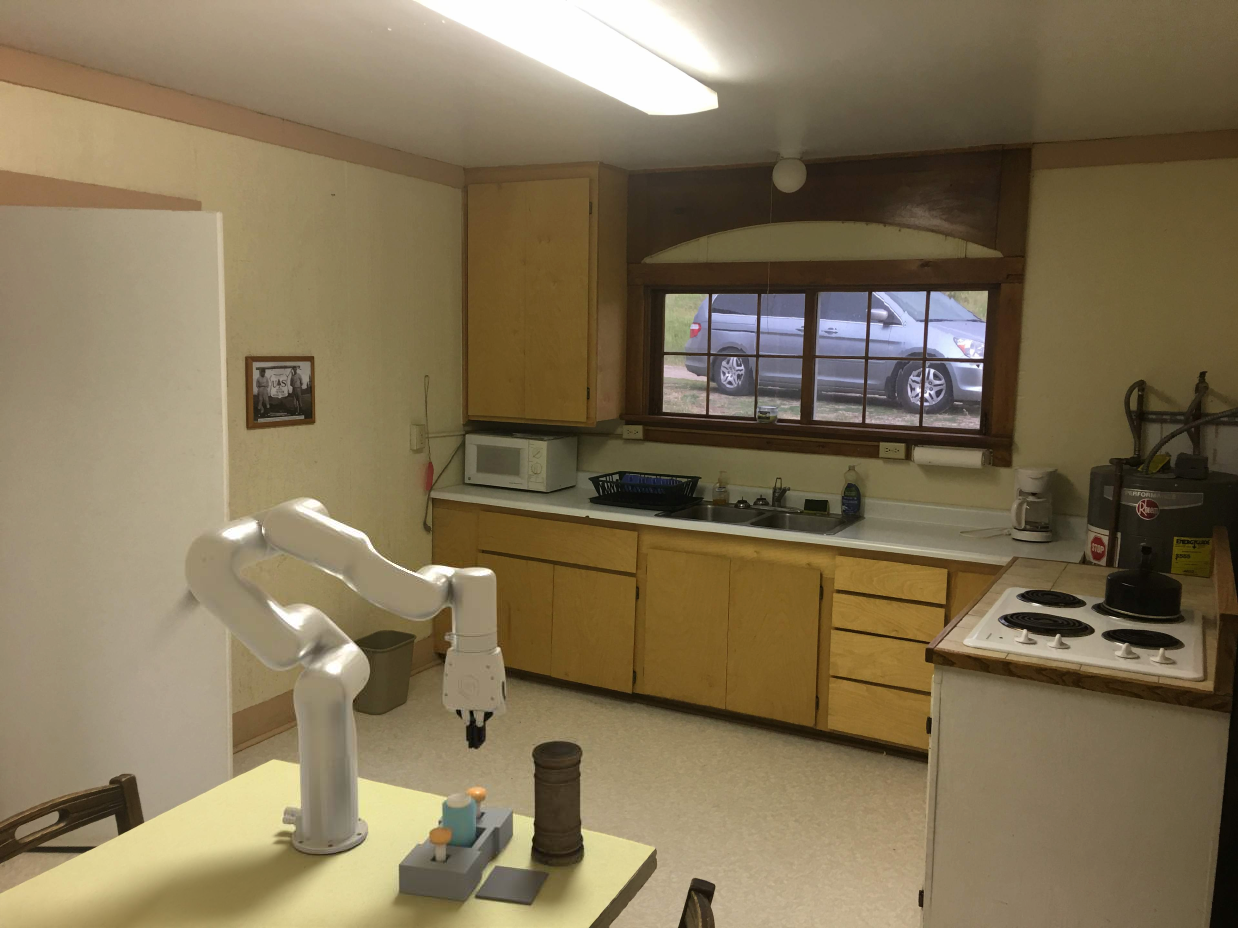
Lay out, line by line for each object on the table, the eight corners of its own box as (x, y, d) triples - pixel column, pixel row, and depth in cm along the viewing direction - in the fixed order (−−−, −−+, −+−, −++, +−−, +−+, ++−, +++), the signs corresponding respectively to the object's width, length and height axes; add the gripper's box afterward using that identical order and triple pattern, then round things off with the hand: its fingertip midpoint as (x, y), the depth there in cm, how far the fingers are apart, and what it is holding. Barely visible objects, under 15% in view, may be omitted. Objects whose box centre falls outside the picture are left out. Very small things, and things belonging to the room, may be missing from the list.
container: (577, 869, 152) (577, 762, 151) (524, 863, 154) (523, 757, 152) (589, 842, 161) (590, 741, 159) (539, 837, 163) (539, 737, 161)
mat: (475, 896, 144) (475, 894, 144) (495, 867, 153) (495, 865, 153) (530, 904, 142) (530, 901, 142) (548, 874, 151) (548, 871, 151)
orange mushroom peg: (463, 829, 160) (462, 794, 160) (470, 820, 164) (470, 786, 163) (481, 831, 160) (481, 796, 159) (489, 822, 163) (488, 788, 162)
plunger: (426, 873, 146) (425, 835, 145) (435, 863, 149) (434, 825, 148) (446, 876, 145) (446, 838, 144) (455, 865, 148) (454, 828, 148)
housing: (399, 891, 145) (398, 864, 145) (454, 827, 166) (454, 802, 166) (465, 901, 143) (465, 872, 142) (513, 833, 164) (512, 809, 163)
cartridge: (437, 867, 152) (436, 803, 152) (450, 851, 158) (450, 789, 157) (468, 871, 151) (468, 807, 150) (480, 855, 157) (480, 793, 156)
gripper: (424, 644, 157) (426, 750, 158) (509, 650, 153) (510, 758, 155) (442, 632, 164) (444, 734, 166) (523, 638, 161) (524, 741, 162)
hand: (476, 745), depth 160 cm, fingers closed
